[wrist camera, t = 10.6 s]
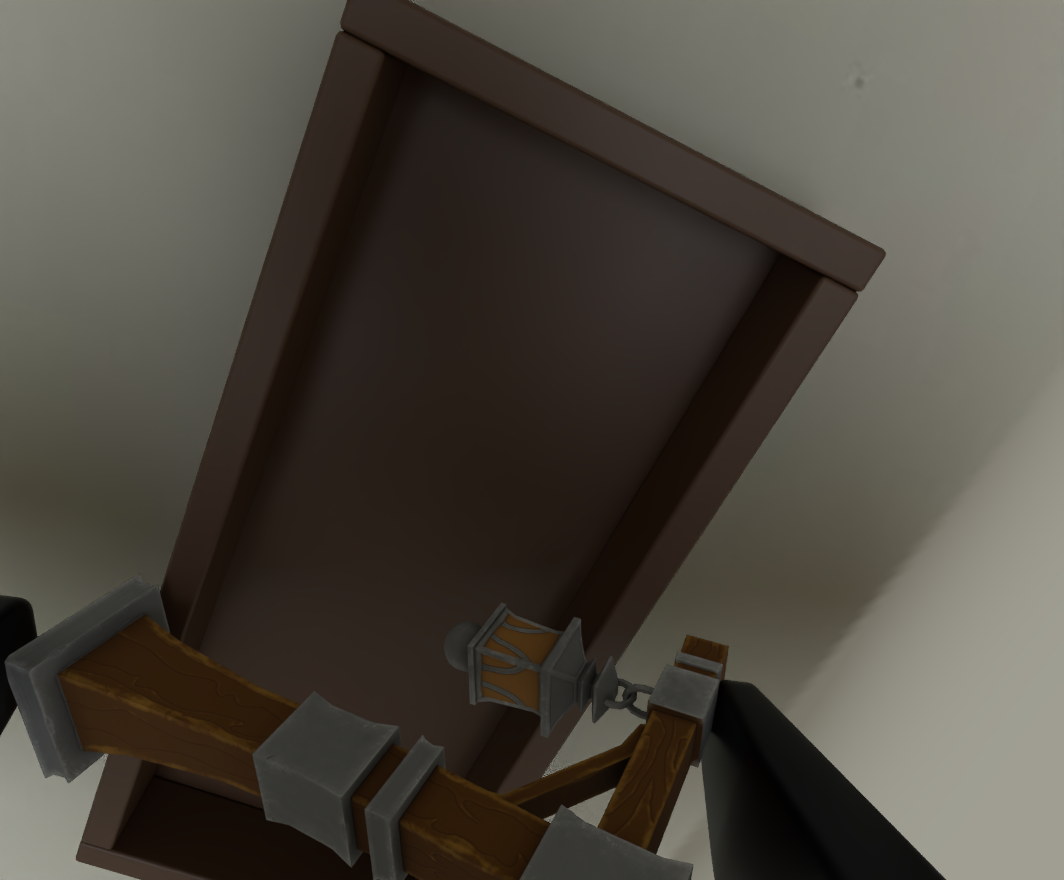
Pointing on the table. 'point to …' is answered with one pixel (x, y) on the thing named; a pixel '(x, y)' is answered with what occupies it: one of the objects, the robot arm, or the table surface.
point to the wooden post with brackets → (379, 744)
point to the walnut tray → (467, 413)
